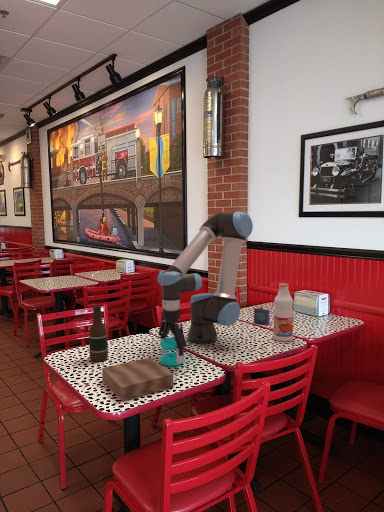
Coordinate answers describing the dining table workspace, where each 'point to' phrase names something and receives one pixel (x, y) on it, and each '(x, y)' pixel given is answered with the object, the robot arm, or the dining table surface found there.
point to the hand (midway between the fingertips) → (172, 357)
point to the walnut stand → (137, 378)
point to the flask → (261, 316)
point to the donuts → (169, 358)
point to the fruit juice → (283, 314)
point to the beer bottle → (98, 337)
